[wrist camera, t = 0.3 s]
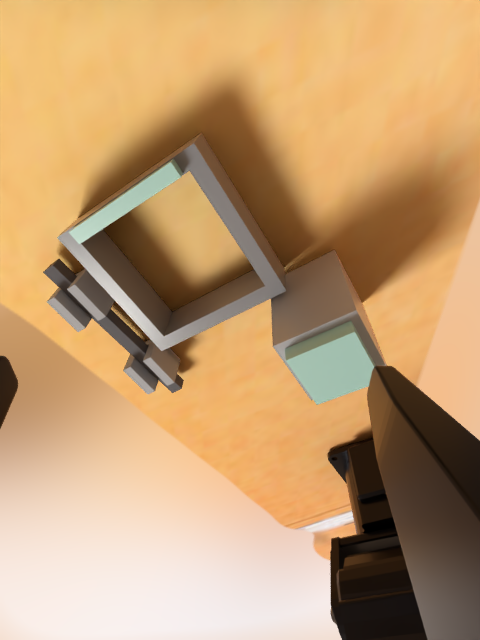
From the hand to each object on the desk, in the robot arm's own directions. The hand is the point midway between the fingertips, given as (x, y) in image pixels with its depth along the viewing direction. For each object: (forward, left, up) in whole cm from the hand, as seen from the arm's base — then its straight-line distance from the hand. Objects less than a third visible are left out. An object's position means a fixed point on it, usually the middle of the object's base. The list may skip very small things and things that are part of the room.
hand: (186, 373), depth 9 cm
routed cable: (-3, +10, -13) cm, 16 cm away
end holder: (-1, +3, -13) cm, 13 cm away
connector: (-7, -2, -13) cm, 15 cm away
